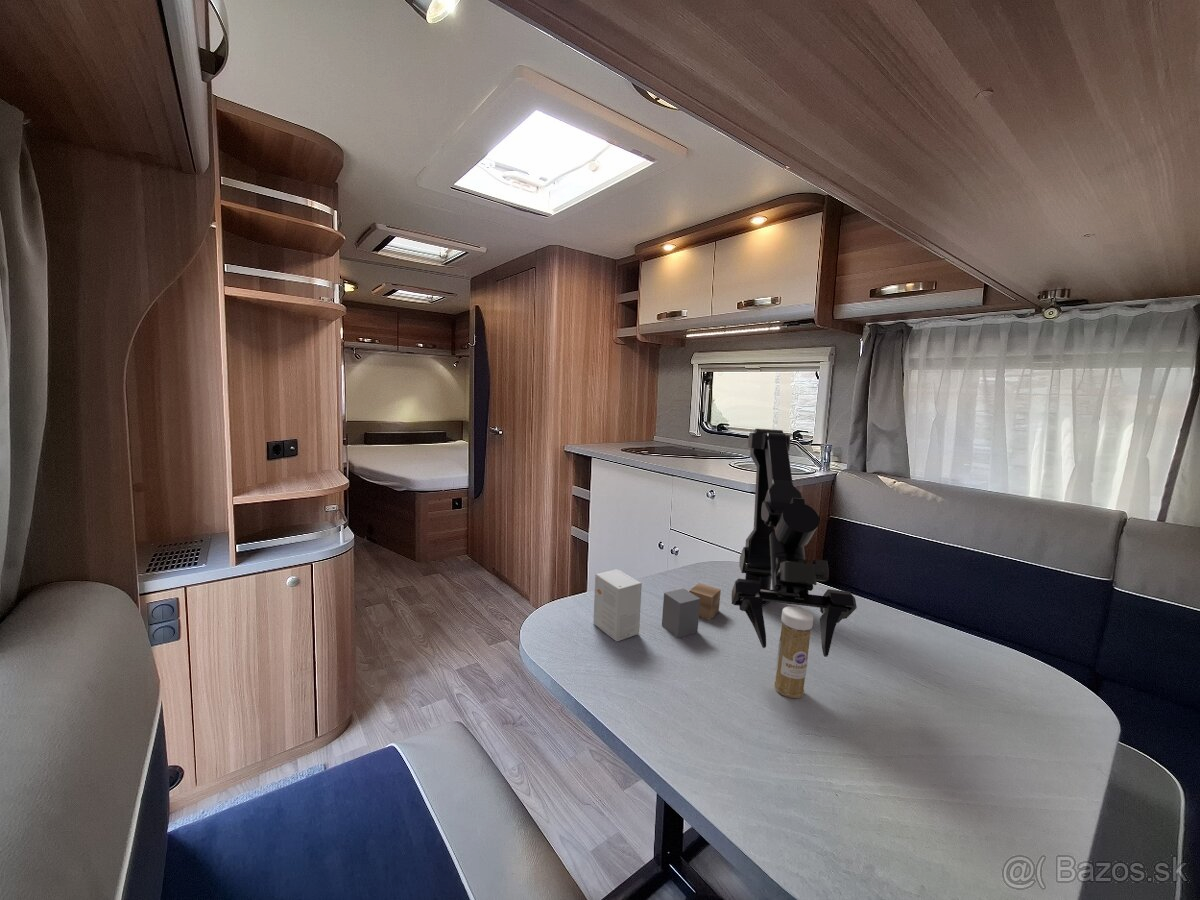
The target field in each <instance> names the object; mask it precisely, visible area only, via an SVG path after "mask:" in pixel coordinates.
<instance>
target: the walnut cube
mask: <svg viewBox="0 0 1200 900" xmlns="http://www.w3.org/2000/svg"><path fill="white" fill-rule="evenodd" d="M688 591H689V592H690V593H692V594H694V595H695V596H697V597H698V598H700V609H699V618H700V617H701V618H703V619H707V620H709V621H710V620H711V619H712V618H713V617H714V616H716V615H717V614H718V612H719V611H720V610H719V609H720V603H721V602H720V601H721V593H722V592H721V591H722V589H720V588H718V587H714V586H710V585H707V584H704V583H700V582H699V583H697V584H696V585H694V586H693V587H692V588H691V589H689V590H688Z"/></svg>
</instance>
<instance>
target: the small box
mask: <svg viewBox="0 0 1200 900" xmlns="http://www.w3.org/2000/svg"><path fill="white" fill-rule="evenodd" d="M642 584H643V583H642V582H640V581H639V580H637V579H636V578H633V577H632V576H630V575H628V574H626V573H625V572H623V571H621V570H620V569H612V570H608V571H603V572H599V573H596V574H595V576H594V599H593V600H594V603H593V621H592V623H593V625H595V626H596V627H597V628H599V629H600V630H601V631H602V632H603V633H605V634H606V635H607V636H609V637H610V638H611V639H613V640H614V641H615V642H617V643H618V642H620V641H622V640H626V639H628V638H631V637H634V636H637V635H639V634H640V623H641V607H642V606H641V605H642V603H641V602H642Z"/></svg>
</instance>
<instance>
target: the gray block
mask: <svg viewBox="0 0 1200 900" xmlns="http://www.w3.org/2000/svg"><path fill="white" fill-rule="evenodd" d="M699 609H700V598H698V597H697V596H695V595H694V594H692V593H690V592H689V590H687V589H685V588H684V587H683V588H680V589H674V590H670V591H665V592H663V603H662V617H661V627H663V628H664V629H665V630H667V631H668V632H669V633H670V634H672V635H673V636H675V638H682V637H685V636H688V635H693V634H696V633H698V632H699V620H700V616H699Z"/></svg>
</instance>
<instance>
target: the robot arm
mask: <svg viewBox="0 0 1200 900" xmlns="http://www.w3.org/2000/svg"><path fill="white" fill-rule="evenodd" d="M791 437H792V436H791V435H790V434H786V433H784V430H783V429H781V430H779V429H765V428H754V431H753V432H749V434H748V441H747V443H748V445H747V447H748V448H749V449H750V450H749V451H750V454H749V455H750V458H751V460H752V461H753V463H754V465H755V466H756V470H755V471H756V473H755V474H756V475H755V477H756V478H755V490H754V491H755V492H754V495H755V496H754V514H753V515H754V517H753V530H752V531H751V532H750V533H749V535H748V536H747V538H746V539H745V546H743V547H742V550H741V553H740V555H739V562H738V563H739V564H738V565H739V569H740V572H741V574H745V578H737V579H736V580H735V581H734V583H733V586H732V590H731V604H732V605H733V606H738V607H739V610H740V611H742V612H745V613H746V616H747V618H748V619H749V621H750V623H751V624H752V627H753V629H754V631H755V633H756V635H757V638H758V641H759V642H760V645H761V647H762V649H766V647H767V634H766V633H767V632H766V627H765V619H764V618H765V617H764V613H763V611H764V610H763V606H764V605H766V604H768V603H769V602H771V603H774V602H775V603H779V604H780V603H781V604H787V605H795V606H803V607H811V608H819V609H820V611H819V612H820V613H821V616H820V617H819V628H820V629H819V630H820V642H821V644H820V645H821V651H822V655H823V657H825V658H827V657H828V656H829V653H830V650H831V645H832V641H833V636H834V632H835V629H836V625H837V624H838V623H840V622H841V621H842V620H845V619H848V618H849V617H850V616H851V614H853V613H854V612H855V610H857V608H858V607H857V600H856V597H855V596H854V595H853V594H852V592H850V591H846V590H840V589H839V590H838V589H829V588H828V589H826V591H825V593H824V594H823V595H817V594H812V593H811V594H809V591H810V592H811V591H813V590H814V586H817V581H819V582H820V581H821V582H827V581H829V579H830V577H829V575H830V571H829V564H828V560H824V559H814V560H812V561H811V562H812V563H808V559H806V554H805V547H806V546H807V545H808V544H809V542H810V541H811V539H812V537H813V535H814V534H815V532H816V530H817V529H818V527H819V524H820V516H819V514H818V513H817V512H816V510H815V509H814V508H813V507H811V506H810V505H808V504H806V503H805V498H803V494H802V492H801V491H800V490H799V489H798V488H797V487H795V485H794V483H793V476H792V475H793V474H792V469H791V462H790V454H789V452H790V446H791Z"/></svg>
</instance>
